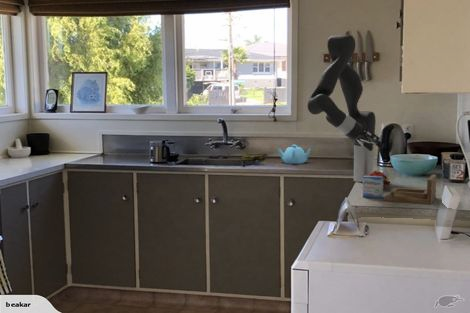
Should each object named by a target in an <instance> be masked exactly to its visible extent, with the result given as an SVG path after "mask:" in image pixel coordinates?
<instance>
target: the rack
mask: <svg viewBox="0 0 470 313" xmlns="http://www.w3.org/2000/svg"><path fill="white" fill-rule="evenodd" d="M436 192H437V174H431V175H430V176H429V178H428V179H427V181H426V189H421V188H419V189H418V188H405V187H393V189H392V190H390V192H388V193H387V194H386V195H385V196H383V201H384V202H391V203H392V202H395V203H406V204H407V203H408V204H409V203H410V204H419V205H420V204H421V205H423V204H424V205H431V204H433V202H434V201H435V199H437V198H436V196H437V194H436Z"/></svg>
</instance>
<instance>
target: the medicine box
mask: <svg viewBox="0 0 470 313" xmlns="http://www.w3.org/2000/svg"><path fill="white" fill-rule="evenodd" d="M362 197H363V198H366V197H367V199H368V198H369V199H370V198H371V199H382V198H384V188H383V176H364V177H363V182H362Z"/></svg>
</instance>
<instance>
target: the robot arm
mask: <svg viewBox="0 0 470 313" xmlns="http://www.w3.org/2000/svg"><path fill="white" fill-rule="evenodd" d="M356 45H357V44H356V40H355V37H354V36H353V35H351V34H340V35H339V34H337V35H331V36H329V37H328V39H327V51H328V54H329V57H330V59H331V61H332V62H331V63H332V64H331V65H329V66H328V67H327V68H326V69H325V70H324V71H323V72H322V74H321V76H320V79H319V81H318V83H317V86H316V88H314V91H313V92H312V94H311V95H310V97H309V98H308V102H307V110H308V112H309V113H310V114H311V115H319V114H322V113H323V112H324V113H325V114H326V116H325V120H326V121H327V123H329V124H331V125H332V126H333V127H335V128H336V129H337V130H338V132H340V133H342V134H343V135H344V136H346V137H347V138H348V139H350V140H351V141H352V142H353V182H357V183H363V177H364V176H369V175H370V174H371V173H372V172H374V171H375V170H374V168H375V167H374V165H375V164H374V160H375V156H374V155H375V152H374V151H375V146H377V148H379V149H380V150H383V149H384V148H385V143H383V142H381V141H380V139H381V138H380V136H378V135H377V134H376V115H375V113H374V112H373V111H360V110H359V108H358V103H359V102H360V99H361V96H362V94H363V90H364V88H363V83H362V80H361V77H360V75H359V73H358V72H357V71H356V70H355V69H354V68H353V67H352V66H351V65H349V61H350V60H351V59H352V57H353V54H354V53H355V51H356V50H355V49H356ZM338 80H339V84H340V88H341V91H342V94H343V96H344V101H345V103H346V107H347V113H345V112H344V111H343V110H341V109H340V107H338V106H337V105H336V103H335V102H334V100H333V99H332V98H331V97H330V96H331V95H332V94H333V92H334V90H335V87H336V86H337V83H338Z"/></svg>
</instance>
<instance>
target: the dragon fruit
mask: <svg viewBox="0 0 470 313" xmlns="http://www.w3.org/2000/svg"><path fill="white" fill-rule="evenodd" d="M369 176H383V189H384V188H387V186H389V185H390V183H391V180H390V181H389V179H388V176H387V175H386V174H385V173H383V172H381V171H380V170H379V171H378V170H374V172H372V173H371V174H370V175H369Z"/></svg>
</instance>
